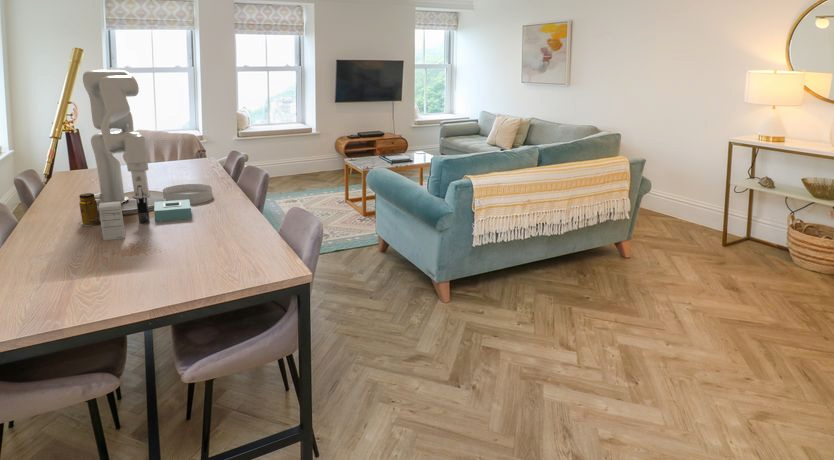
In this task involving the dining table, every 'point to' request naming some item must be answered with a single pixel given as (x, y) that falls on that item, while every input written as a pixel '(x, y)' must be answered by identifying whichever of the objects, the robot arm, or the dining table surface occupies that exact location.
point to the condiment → (89, 210)
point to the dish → (188, 193)
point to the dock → (172, 210)
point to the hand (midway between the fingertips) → (143, 210)
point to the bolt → (143, 216)
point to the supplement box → (111, 220)
